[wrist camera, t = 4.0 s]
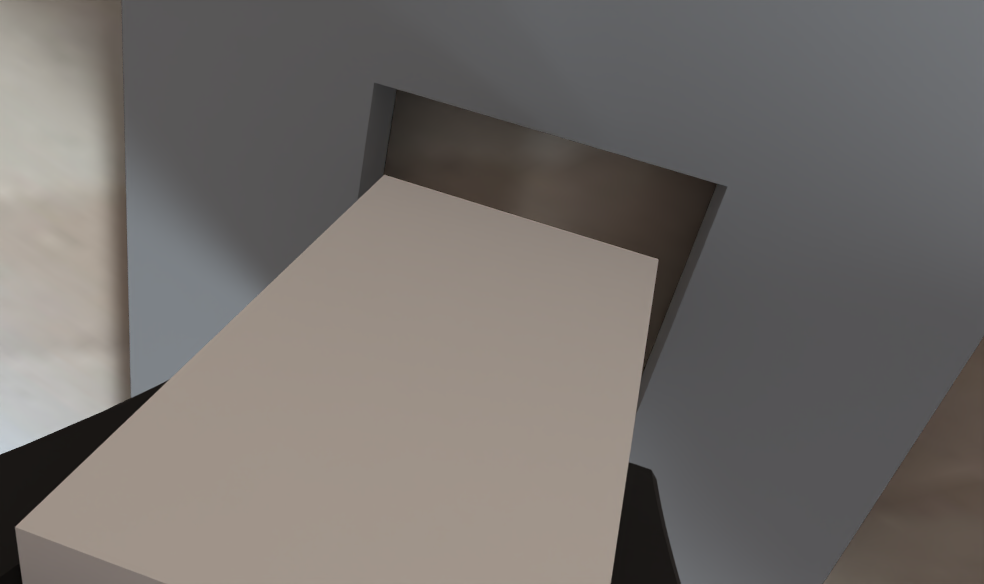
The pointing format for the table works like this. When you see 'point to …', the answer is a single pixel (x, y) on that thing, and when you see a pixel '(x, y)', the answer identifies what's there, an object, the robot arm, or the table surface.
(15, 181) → the table surface
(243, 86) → the panel
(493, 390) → the plug
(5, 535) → the robot arm
